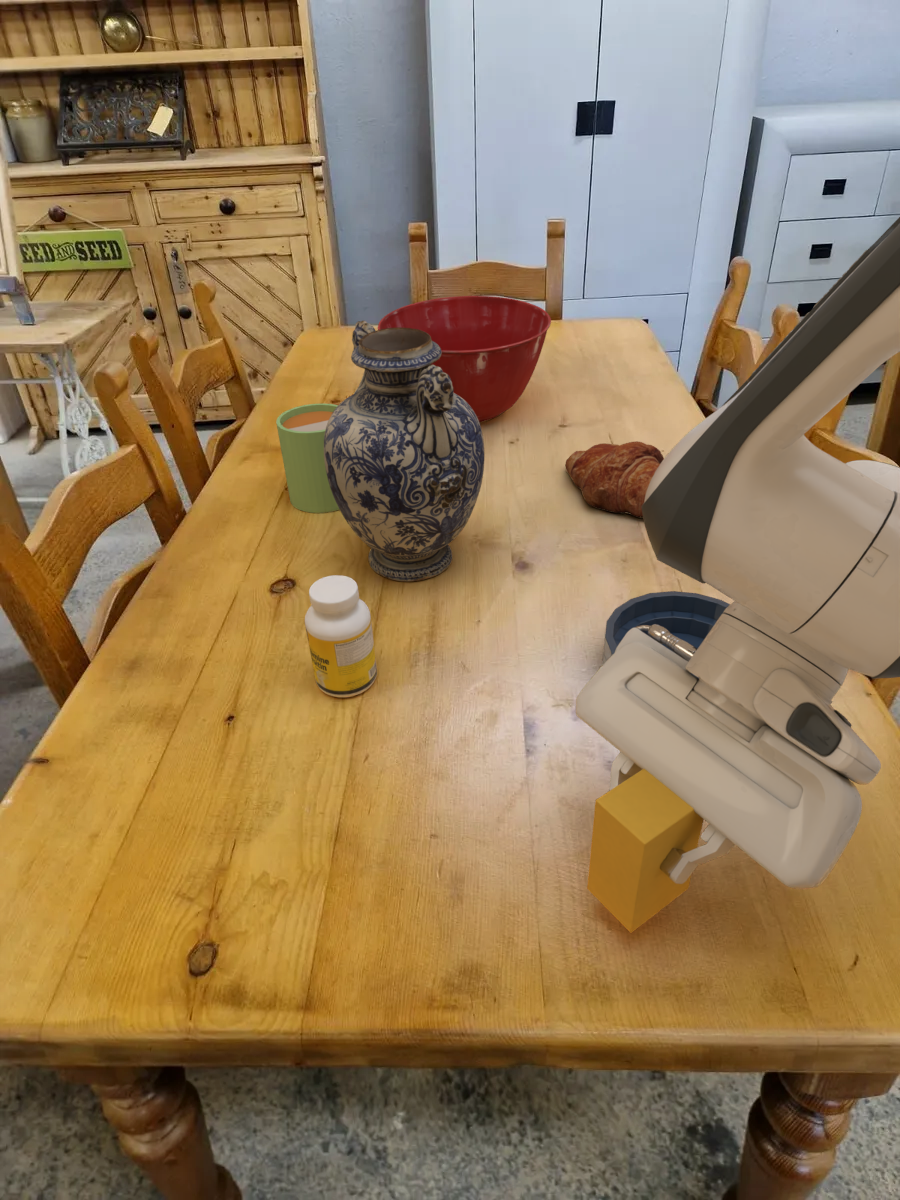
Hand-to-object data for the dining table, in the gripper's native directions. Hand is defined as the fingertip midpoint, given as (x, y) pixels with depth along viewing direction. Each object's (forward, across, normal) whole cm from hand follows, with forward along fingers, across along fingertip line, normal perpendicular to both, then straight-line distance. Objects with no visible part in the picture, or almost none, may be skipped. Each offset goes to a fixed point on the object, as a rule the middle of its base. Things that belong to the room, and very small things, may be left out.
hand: (638, 847), depth 55 cm
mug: (-4, -75, +15) cm, 76 cm away
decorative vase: (-4, -52, +15) cm, 54 cm away
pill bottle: (+8, -36, +3) cm, 37 cm away
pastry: (-27, -47, +38) cm, 66 cm away
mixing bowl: (-28, -86, +39) cm, 99 cm away
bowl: (-11, -16, +22) cm, 29 cm away
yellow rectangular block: (+3, 0, +4) cm, 5 cm away
